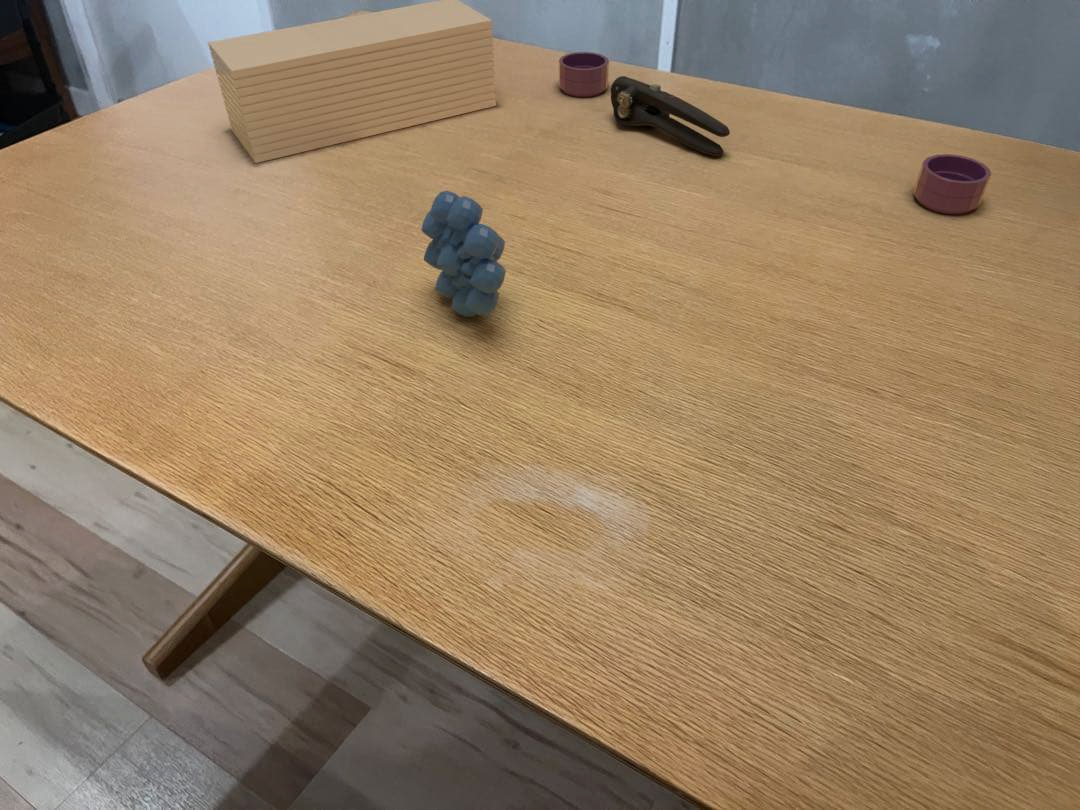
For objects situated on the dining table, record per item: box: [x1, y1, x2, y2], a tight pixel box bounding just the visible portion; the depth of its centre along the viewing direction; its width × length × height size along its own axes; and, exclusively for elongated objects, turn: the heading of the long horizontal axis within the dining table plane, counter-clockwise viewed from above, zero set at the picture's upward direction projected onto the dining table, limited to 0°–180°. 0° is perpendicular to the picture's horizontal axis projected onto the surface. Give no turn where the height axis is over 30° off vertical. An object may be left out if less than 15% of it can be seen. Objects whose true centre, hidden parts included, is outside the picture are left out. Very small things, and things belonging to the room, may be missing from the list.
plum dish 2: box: [913, 153, 992, 215], centre depth 87 cm, size 7×7×4 cm
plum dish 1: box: [558, 51, 610, 98], centre depth 111 cm, size 7×7×4 cm
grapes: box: [421, 190, 507, 318], centre depth 70 cm, size 12×7×12 cm, turn 34°
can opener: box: [610, 75, 731, 157], centre depth 99 cm, size 18×7×6 cm, turn 41°
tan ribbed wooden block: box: [207, 0, 497, 164], centre depth 102 cm, size 32×11×11 cm, turn 120°
